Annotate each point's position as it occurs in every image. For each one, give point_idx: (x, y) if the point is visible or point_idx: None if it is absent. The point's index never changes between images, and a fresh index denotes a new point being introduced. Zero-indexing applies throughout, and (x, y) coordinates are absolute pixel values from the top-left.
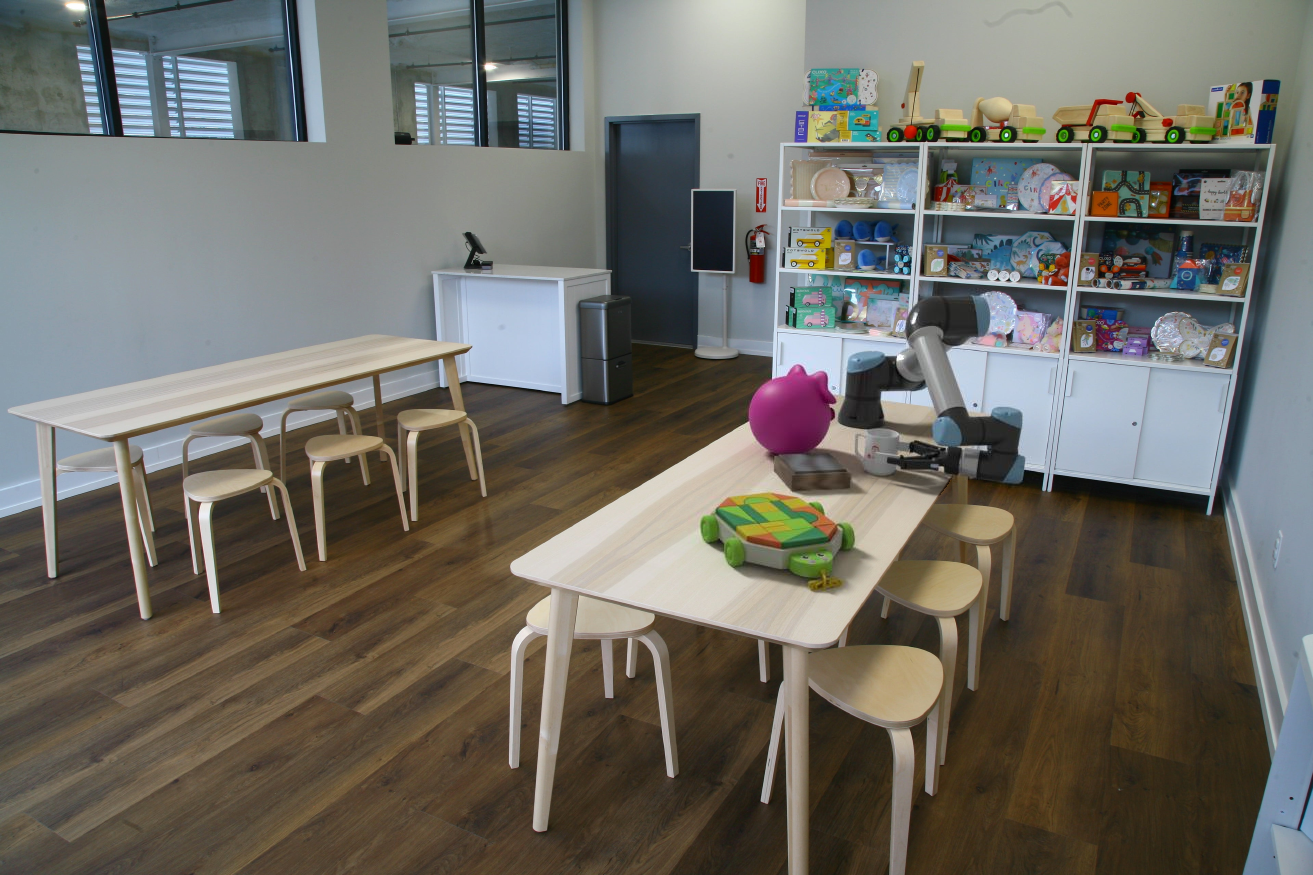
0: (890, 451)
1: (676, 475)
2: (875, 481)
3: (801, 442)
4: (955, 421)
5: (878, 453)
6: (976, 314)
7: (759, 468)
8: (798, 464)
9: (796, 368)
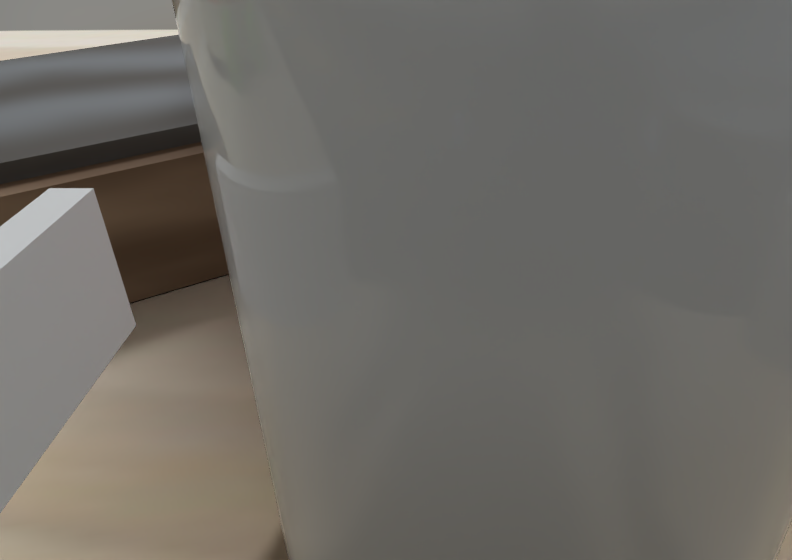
0: (268, 335)
1: (147, 34)
2: (88, 537)
3: None
4: None
5: (23, 215)
6: None
7: None
8: (38, 69)
9: None
